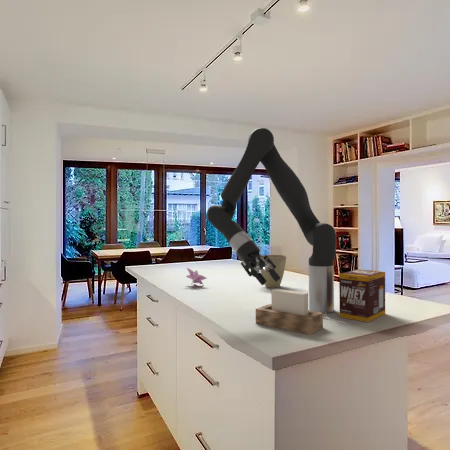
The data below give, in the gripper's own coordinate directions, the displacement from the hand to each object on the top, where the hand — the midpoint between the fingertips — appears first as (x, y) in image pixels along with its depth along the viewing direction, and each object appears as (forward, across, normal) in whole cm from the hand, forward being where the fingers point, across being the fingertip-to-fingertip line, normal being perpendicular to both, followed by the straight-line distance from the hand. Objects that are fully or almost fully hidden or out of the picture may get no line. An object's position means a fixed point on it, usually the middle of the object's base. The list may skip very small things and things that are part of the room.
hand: (271, 281), depth 122 cm
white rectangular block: (+14, 0, +4) cm, 14 cm away
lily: (-38, +32, +58) cm, 77 cm away
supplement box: (+25, +27, -5) cm, 37 cm away
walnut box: (+14, 0, +5) cm, 15 cm away
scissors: (+20, +15, +1) cm, 25 cm away
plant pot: (-15, +55, +35) cm, 67 cm away
